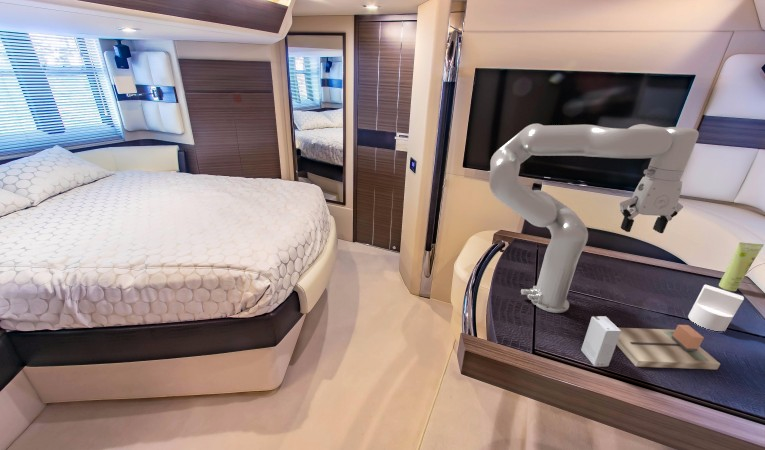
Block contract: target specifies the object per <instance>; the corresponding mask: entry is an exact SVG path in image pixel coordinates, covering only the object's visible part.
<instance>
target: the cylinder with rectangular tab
mask: <svg viewBox="0 0 765 450" xmlns="http://www.w3.org/2000/svg"><path fill="white" fill-rule="evenodd" d="M744 300H745V297H744V296H743V295H740V294H738V293H734V292H732V291H728V290H725V289H723V288H720V287H715V286H712V285H708V284H704V285H703V286H702V288H701V291H700V293H699V294H698V296H697V298H696V300H695V302H694V303H693V305H692V308H691V310H690V311H689V313H688V315H687V317H688V319H689V320H690V321H691V322H692V323H693V322H694V324H695V323H696V324H697V325H696V324H695V325H696V326H698V325H699V326H698V327H700V326H701V328H702V327H704V328H706V329H705V330H707V329H710V330H714V331H724V332H726V330H727V328H728V326H729V325H730V324H731V322H732V320H733V319H734V316H735V315H736V313H737V312H738V310H739V309H740V306H741V305H742V303H743V302H744ZM704 328H703V329H704ZM710 330H709V331H710ZM714 331H713V332H714Z"/></svg>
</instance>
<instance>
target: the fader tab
mask: <svg viewBox="0 0 765 450" xmlns="http://www.w3.org/2000/svg"><path fill="white" fill-rule="evenodd" d="M674 330H675V331H674V333H673V335H672V337H671V338H672V339H673V340H674V341H676V342H677V343H678V344H679V345H680V346H681V347H682V348H683V349H685V350H686V351H697V350H698V348H699V346H700V347H701V344H702V342H703V340H704V339H705V336H702V334H701V333H699V332H698V331H696V329H694V328H693V327H691V325H689V324H677V326H676V328H675V329H674Z"/></svg>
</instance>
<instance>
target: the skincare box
mask: <svg viewBox="0 0 765 450" xmlns="http://www.w3.org/2000/svg"><path fill="white" fill-rule="evenodd" d="M619 328H620V327H617V325H616V324H615V323H613V322H612V321H611V320H610V318H609V317H607V316H606V315H605V316H601V315H600V316H599V315H598V316H591V318H590V322H589V324H588V327H587V331H586V334H585V336H584V339H583V340H584V341H583V343H582V346H581V352H582V353H583V354H584V356H585V357H586V359H587V360H588V361H589V362H590V363H591V364H592V366H593V367H602V368H604V367H605V368H606V367H609V365H610V363H611V360H612V358H613V354H614V353H615V350H616V347H617V342H618V339H619V336H620V334H621V330H620V329H619Z"/></svg>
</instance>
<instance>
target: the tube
mask: <svg viewBox="0 0 765 450" xmlns="http://www.w3.org/2000/svg"><path fill="white" fill-rule="evenodd" d="M763 247H764V243H752V242H738V245H737V247H736V249H735V251H734V253H733V256H732V258H731V259H730V262H729V264H728V266H727V267H726V270H725V272H724V274H723V275H722V277H721V279H720V281H719V283H718V287H719V288H720V289H722V290H725V291H728V292H737V290H738V289H739V286H740V285H741V283H742V282H743V280H744V278H745V276H746V275H747V273H748V271H749V269H750V268H751V267H752V264H753V263H754V262H755V260H756V258H757V256H758V254H759V253H760V252H761V250H762V248H763Z"/></svg>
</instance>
